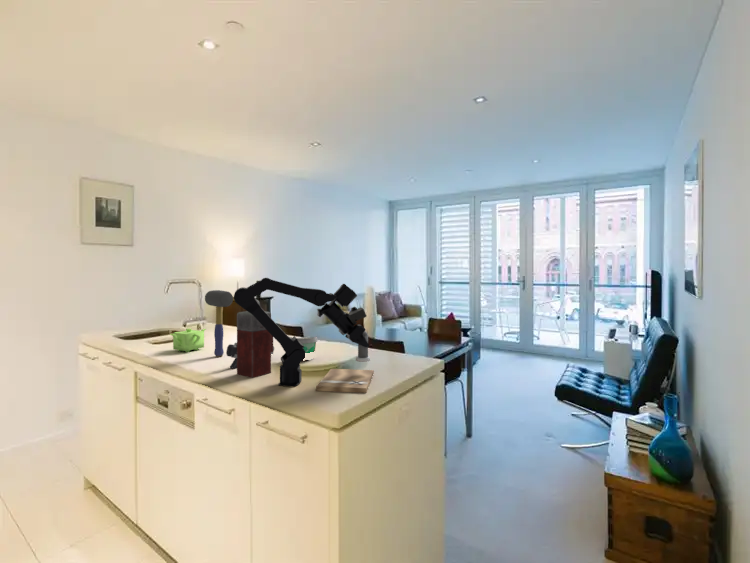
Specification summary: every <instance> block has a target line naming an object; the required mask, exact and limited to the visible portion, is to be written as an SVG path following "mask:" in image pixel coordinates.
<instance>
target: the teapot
mask: <svg viewBox="0 0 750 563" xmlns="http://www.w3.org/2000/svg"><path fill="white" fill-rule="evenodd" d="M206 330H207V328H203V329H201V330H195V329H192V328H186V329H185V330H183V331H176V332H173V333H170V334H169V335H170V336H172V338H173V339H172V349H173V350H175V351H176V350H178V352H185V353H191V351H192V350H194V351H200V349H202V348H205V331H206Z"/></svg>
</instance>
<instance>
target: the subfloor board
mask: <svg viewBox="0 0 750 563" xmlns="http://www.w3.org/2000/svg"><path fill="white" fill-rule="evenodd" d="M374 372H375V371H374V369H347V368H346V369H345V368H330V369H329V371H327V373H326V374H325V375H324V377H322V379H321V380H320V381H319V382H318V383H317V385H316V388H315V391H316V392H339V393H340V392H341V393H360V394H361V393H362V394H363V393H364V394H365V393H366V394H367V392H368V390H369V388H368V387H370V384H371V382H372V380H371V379H373V377H374V375H373V374H375V373H374ZM372 376H373V377H372Z"/></svg>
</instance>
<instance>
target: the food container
mask: <svg viewBox="0 0 750 563" xmlns="http://www.w3.org/2000/svg"><path fill="white" fill-rule="evenodd" d="M290 338H293V337H292V336H290ZM296 338H297V337H296ZM297 340H298V341H299V342H300V343H302V344H303V346H304V348H303V349H304V350H305V353H310V352H314V351H315V352H316V346H317V342H318V337H317V336H314V337H300V338H299V337H298V338H297Z"/></svg>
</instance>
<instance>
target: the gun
mask: <svg viewBox="0 0 750 563" xmlns="http://www.w3.org/2000/svg"><path fill="white" fill-rule="evenodd" d="M274 351H275V346H274V345H273V352H271V354H273V355H274ZM225 353H226V356H227V357H229V358H232V359H234V360H232V363H231V364H230V366H229V368H230V369H236V370H237V342H234V344H231V343H229V344H228V346H227V347H226V352H225Z"/></svg>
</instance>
